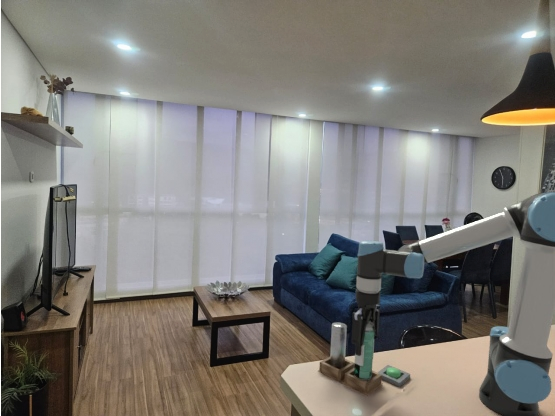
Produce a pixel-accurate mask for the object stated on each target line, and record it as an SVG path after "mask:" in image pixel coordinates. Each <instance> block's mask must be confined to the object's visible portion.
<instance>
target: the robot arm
mask: <svg viewBox="0 0 555 416" xmlns="http://www.w3.org/2000/svg"><path fill="white" fill-rule="evenodd" d="M512 237H516V238H518V239H519V241H520V242H521V243H522V244H523V246H524V248H525V249H524V252H523V253H524V254H523V258H522V262H521V266H520V267H521V268H520V273H519V278H518V281H517V286H516V287H517V288H516V291H515V297H514V301H513V304H512V305H513V306H512V310H511V315H510V318H509V324H508V325H509V326H501V325H500V326H499V325H498V326H493V327H492V328H490V332H489V333H490V334H489V337H490V338H489V347H488V348H489V349H488V358H487V359H488V360H487V370H486V371H487V373H486V375H485V376H484V379H483V381H482V382H481V385H480V387H479V389H478V390H479V391H478V392H479V393H478V398H479V400H480V401H481V403H483V404H484V406H486V407H487V408H489V409H490V410H491V411H494V412H495V413H498V414H499V415H501V416H539V412H540V405H539V403H540V402H542V401H545V400H546V399H547V398H549V395H550V394H551V391H552V381H551V377H550V375H549V373H550V369H551V366H552V365H551V364H552V360H553V355H554V354H553V352H552V351H551V349H549V346H548V342H549V338H550V332H551V330H552V324H553V320H554V315H555V192H554V191H550V192H549V191H548V192H540V193H539V192H538V193H535V194H533V195H530V196H529V197H526V198H525V199H523V200H521V201H519V202H516V203H514V204H512V205H509V206H505V207H503V208H502V211H501V212H499V213H497V214H494V215H490V216H487V217H485V218H482V219H478V220H476V221H474V222H469V223H468V224H464V225H462V226H458V227H456V228H453V229H451V230H448V231H445V232H441V233H439V234H435V235H434V236H430V237H426V238H424V239H422V240H419V241H415V242H413V243H409V244H407V243H406V244H404V245H402V246H401V247H400V248H398V250H394V249H386V248H384V247H385V246H384V243H383V242H381V241H376V240H362V241H360V242H359V244H358V251H357V266H356V267H357V271H356V284H355V285H356V287H355V288H356V289H355V301H356V303H358V307H357V311H356V312H354V311H353V312H352V315H351V317H352V326H351V327H352V328H351V341H350V342H351V344H352V345H355V350H354V363H355V364H358V365H360V366H363V363H364V346H365V345H363V342H364V336H365V329H366V326H367V324H368V323H369V319H370V320H371V322H372V323H374V327H375V329H374V340H376V341H377V340H379V339H378V338H379V337H378V335H379V333H380V332H379V331H380V329H379V328H380V327H379V326H380V312H381V309H382V307H381V305H379V304H380V302H381V289H382V274H384V275H390V276H397V277H403V278H407V279H421V278H423V276H424V270H425V265H426V264H429V263H431V262H432V263H433V262H435V261H438V260H441V259H446V258H448V257H451V256H455V255H457V254H461V253H464V252H467V251H470V250H473V249H476V248H480V247H484V246H487V245H489V244H492V243H496V242H499V241H503V240H506V239H509V238H512ZM362 319H363V320H362ZM364 320H366V321H364ZM374 349H375V345H374V346H373V355H374V351H375V350H374Z"/></svg>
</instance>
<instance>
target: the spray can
mask: <svg viewBox="0 0 555 416" xmlns="http://www.w3.org/2000/svg"><path fill="white" fill-rule="evenodd" d="M362 320H363V319H362ZM364 321H366V320H364ZM374 329H375V327H374V323H372V322H371V320H370V319H369V323H368V324H367V326H366V329H365V336H364V342H363V345H365V346H364V363H363V366H360V365H358V364H355V367H354V376H355V377H357V378H359V379H361V380H363V381H366V382H367V381H370V380H371V378H372V371H373V360H374V354H373V346H374V347H375V339H374Z"/></svg>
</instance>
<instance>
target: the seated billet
mask: <svg viewBox="0 0 555 416" xmlns="http://www.w3.org/2000/svg"><path fill="white" fill-rule="evenodd" d="M347 328H348V325H347V324H346V323H343V322H337V321H335V322H332V324H331V335H330V336H331V337H330V356H329V357H330V365H331V366H333V367H335V368H338V369H342V368H343V367H345V359H346V350H347V349H346V348H347V347H346V346H347V331H348V330H347Z"/></svg>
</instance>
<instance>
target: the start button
mask: <svg viewBox="0 0 555 416" xmlns="http://www.w3.org/2000/svg"><path fill="white" fill-rule="evenodd" d="M392 367H393V366H392ZM392 367H390V368H387V374H386V375H388V376H391V377H393V378H395V379H399V378H400V377H401V376H400V375H401V372H400V370H401V369H399V368H397V369H396V367H395V368H392ZM398 369H399V370H398Z"/></svg>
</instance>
